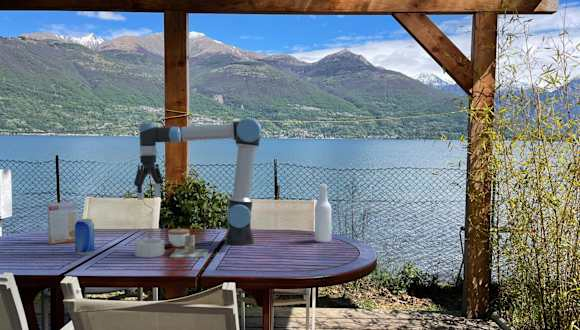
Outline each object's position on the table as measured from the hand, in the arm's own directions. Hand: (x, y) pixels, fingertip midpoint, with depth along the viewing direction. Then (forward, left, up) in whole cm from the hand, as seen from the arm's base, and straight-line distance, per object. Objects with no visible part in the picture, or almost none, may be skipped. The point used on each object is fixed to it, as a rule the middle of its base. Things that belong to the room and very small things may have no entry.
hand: (149, 198), depth 263 cm
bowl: (-3, +11, -25) cm, 28 cm away
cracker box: (+49, -18, -25) cm, 58 cm away
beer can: (+28, +9, -25) cm, 39 cm away
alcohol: (-87, -20, -25) cm, 92 cm away
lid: (-22, +11, -26) cm, 36 cm away
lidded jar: (-13, -9, -25) cm, 30 cm away
